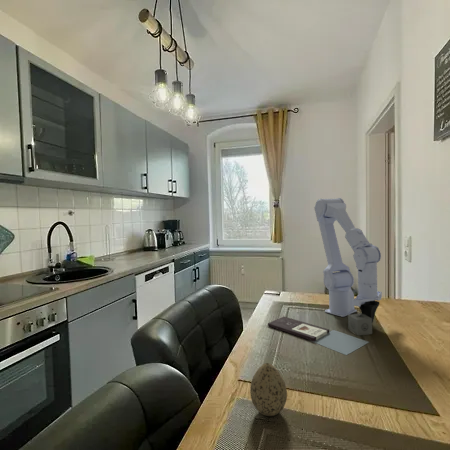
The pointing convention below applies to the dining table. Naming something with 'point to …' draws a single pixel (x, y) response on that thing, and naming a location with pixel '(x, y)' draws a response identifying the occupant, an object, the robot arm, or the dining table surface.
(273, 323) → the chocolate bar
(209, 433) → the dining table surface
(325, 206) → the robot arm
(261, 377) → the decorative egg
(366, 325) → the light grey cube
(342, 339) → the mat
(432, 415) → the dining table surface
